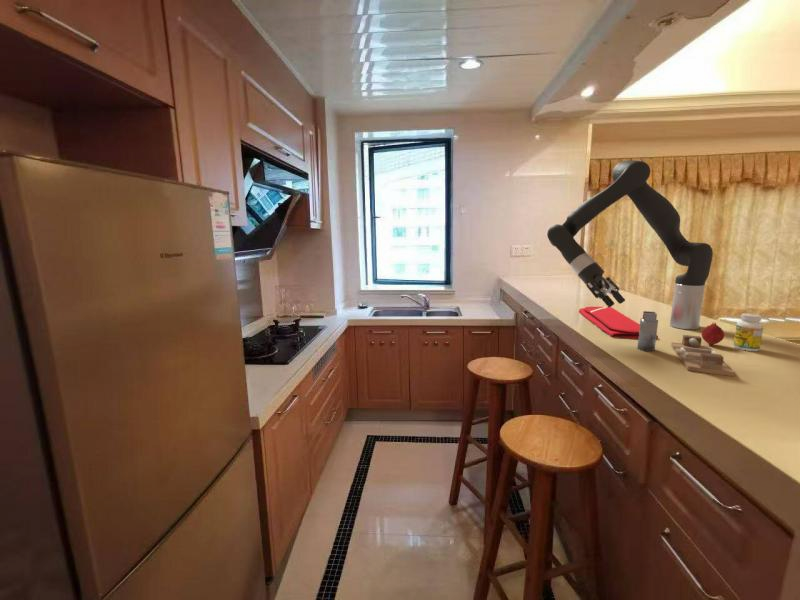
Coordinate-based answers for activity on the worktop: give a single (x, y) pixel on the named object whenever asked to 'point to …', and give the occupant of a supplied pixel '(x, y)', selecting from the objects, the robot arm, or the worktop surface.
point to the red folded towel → (611, 321)
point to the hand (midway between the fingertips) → (617, 303)
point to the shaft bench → (700, 357)
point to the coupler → (647, 331)
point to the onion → (712, 334)
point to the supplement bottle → (748, 333)
